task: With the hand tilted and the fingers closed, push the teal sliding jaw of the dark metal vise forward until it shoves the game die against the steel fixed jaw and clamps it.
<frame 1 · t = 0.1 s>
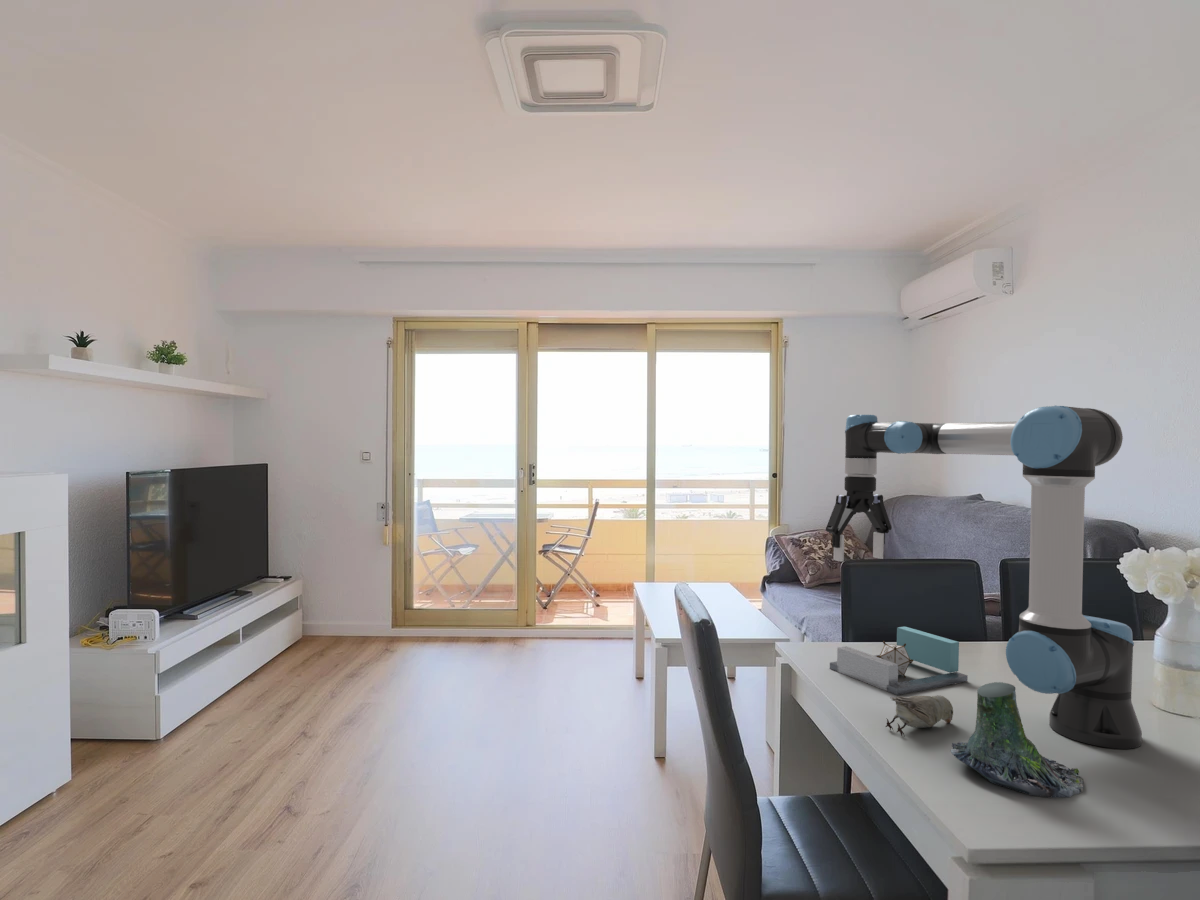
hand: (858, 559, 179), 28 cm above the table, tool pointing down, fingers open, 13 cm apart
vise base: (894, 675, 175), on the table
sliding jaw: (926, 648, 180), point 5 cm above the table, slide at 0.0 cm
decorative bird: (921, 730, 142), on the table
tree stump: (1016, 775, 122), on the table
game die: (894, 676, 175), resting on vise base
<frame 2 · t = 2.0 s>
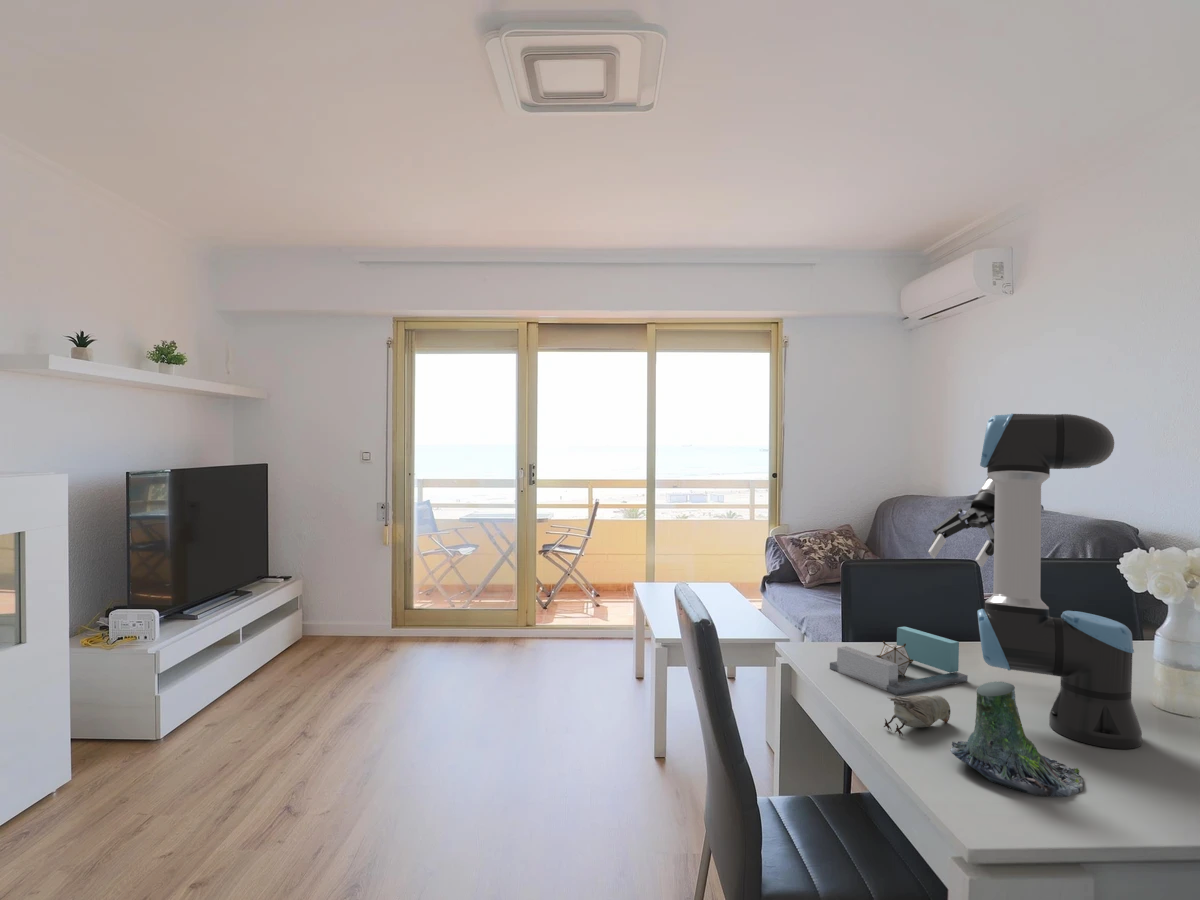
hand: (954, 559, 185), 28 cm above the table, tool tilted 45°, fingers open, 13 cm apart
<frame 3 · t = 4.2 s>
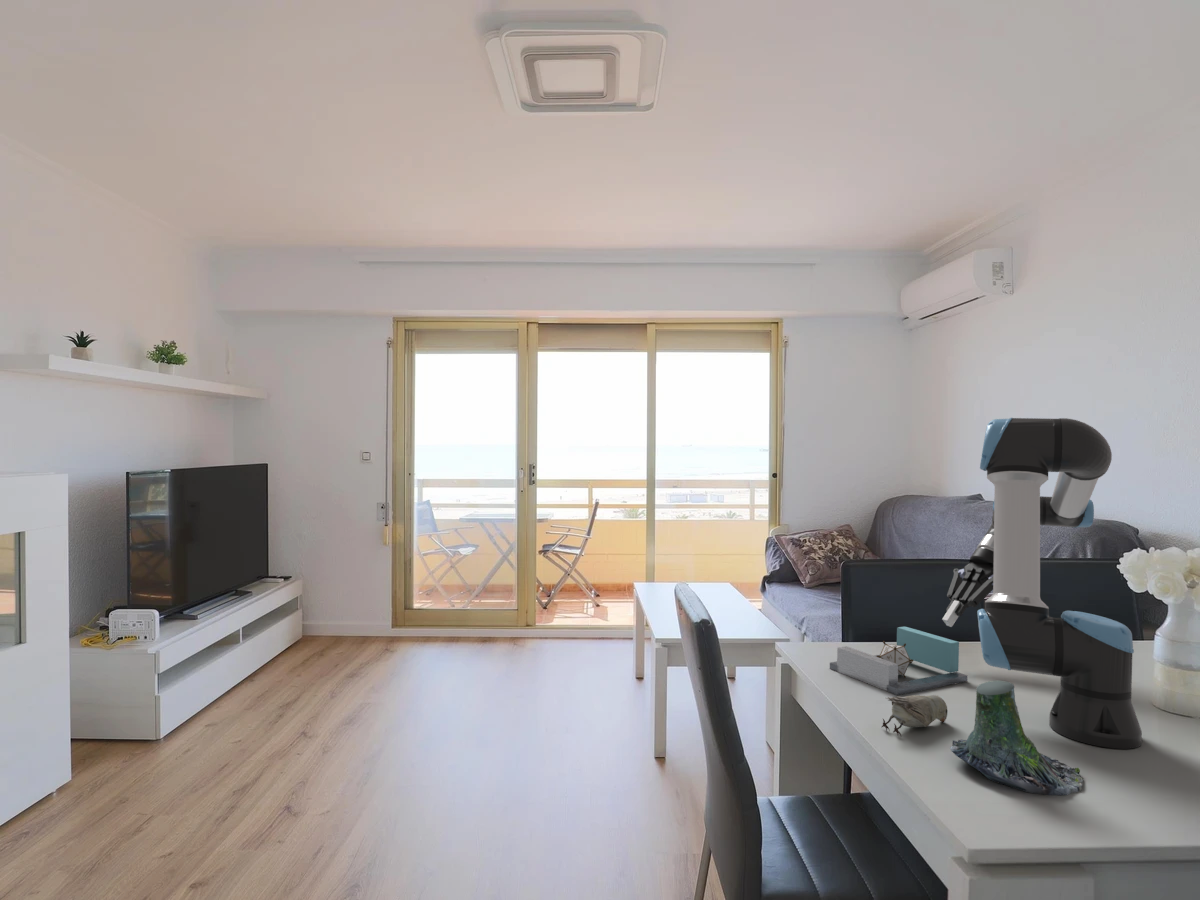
hand: (947, 623, 185), 11 cm above the table, tool tilted 45°, fingers closed
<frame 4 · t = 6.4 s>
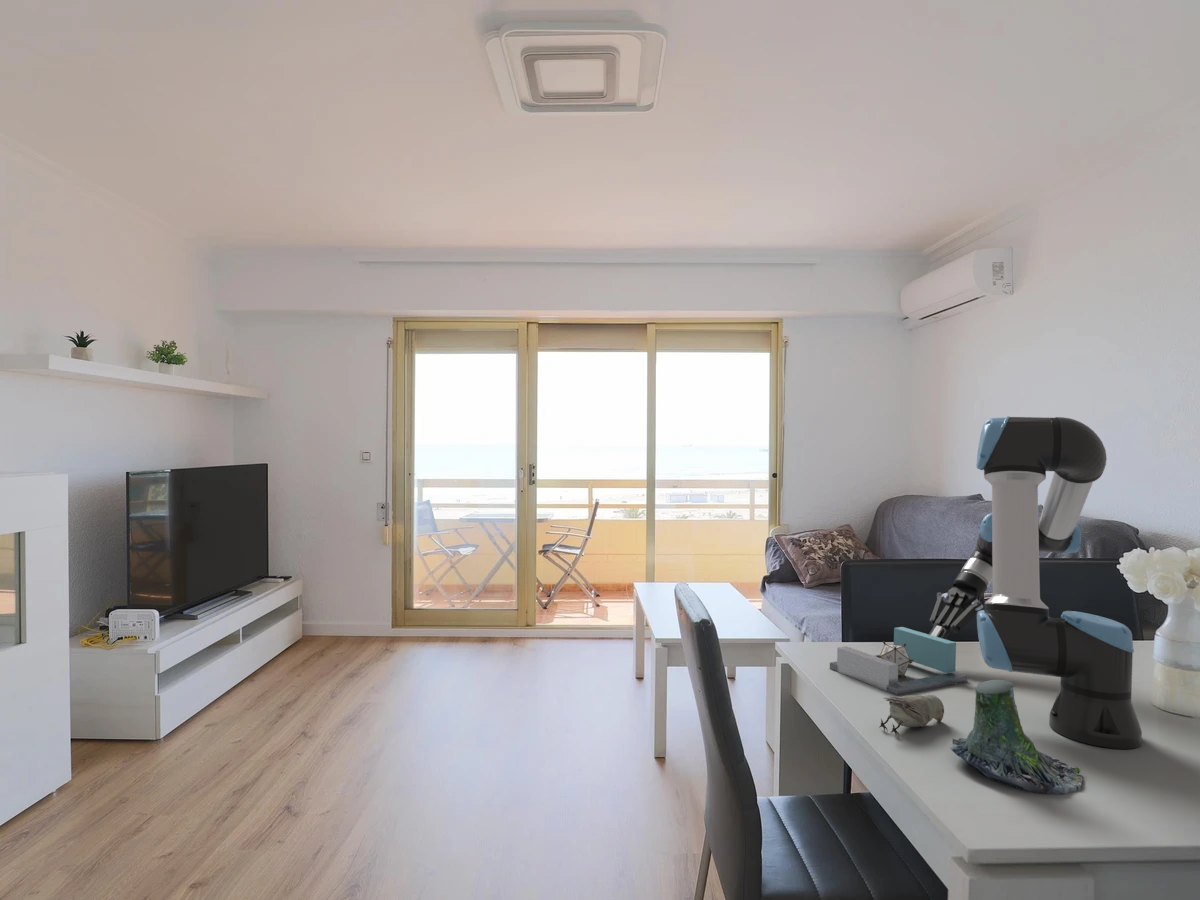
hand: (929, 648, 181), 5 cm above the table, tool tilted 45°, fingers closed
sliding jaw: (923, 649, 180), point 5 cm above the table, slide at 1.1 cm, touching gripper
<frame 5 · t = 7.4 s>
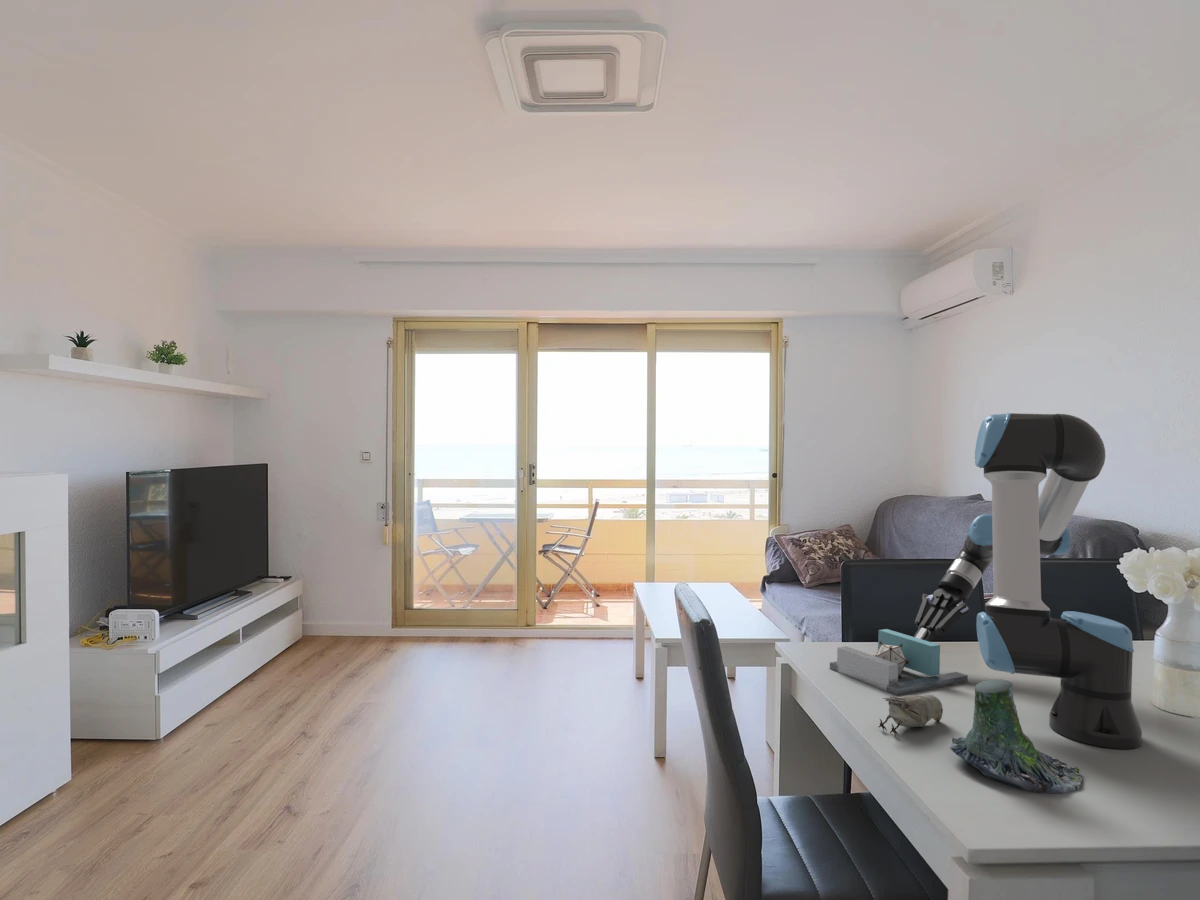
hand: (913, 651, 179), 5 cm above the table, tool tilted 45°, fingers closed
sliding jaw: (907, 651, 177), point 5 cm above the table, slide at 6.8 cm, touching gripper
game die: (890, 676, 175), resting on vise base
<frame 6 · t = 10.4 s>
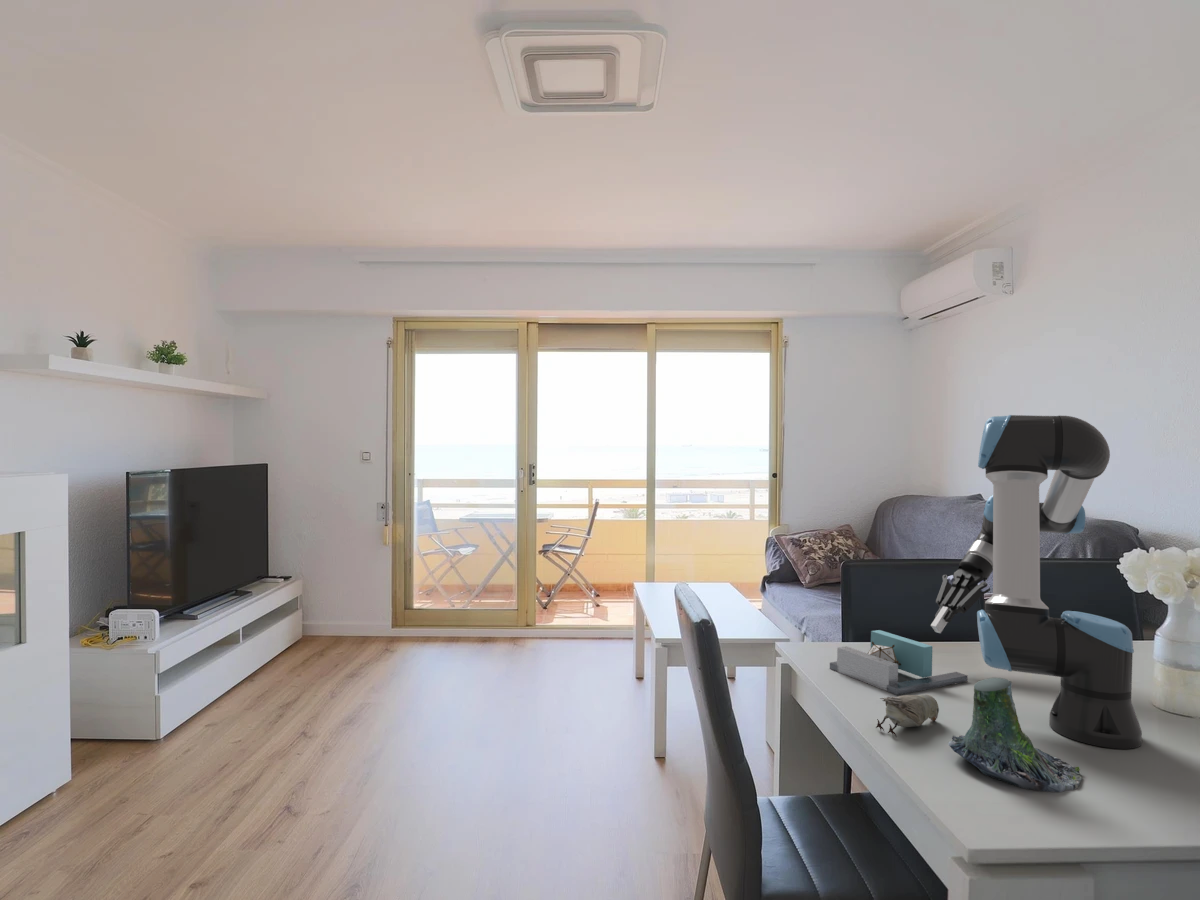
hand: (935, 629, 182), 10 cm above the table, tool tilted 45°, fingers closed
sliding jaw: (900, 652, 176), point 5 cm above the table, slide at 9.5 cm, touching game die
game die: (881, 677, 174), resting on vise base, touching sliding jaw
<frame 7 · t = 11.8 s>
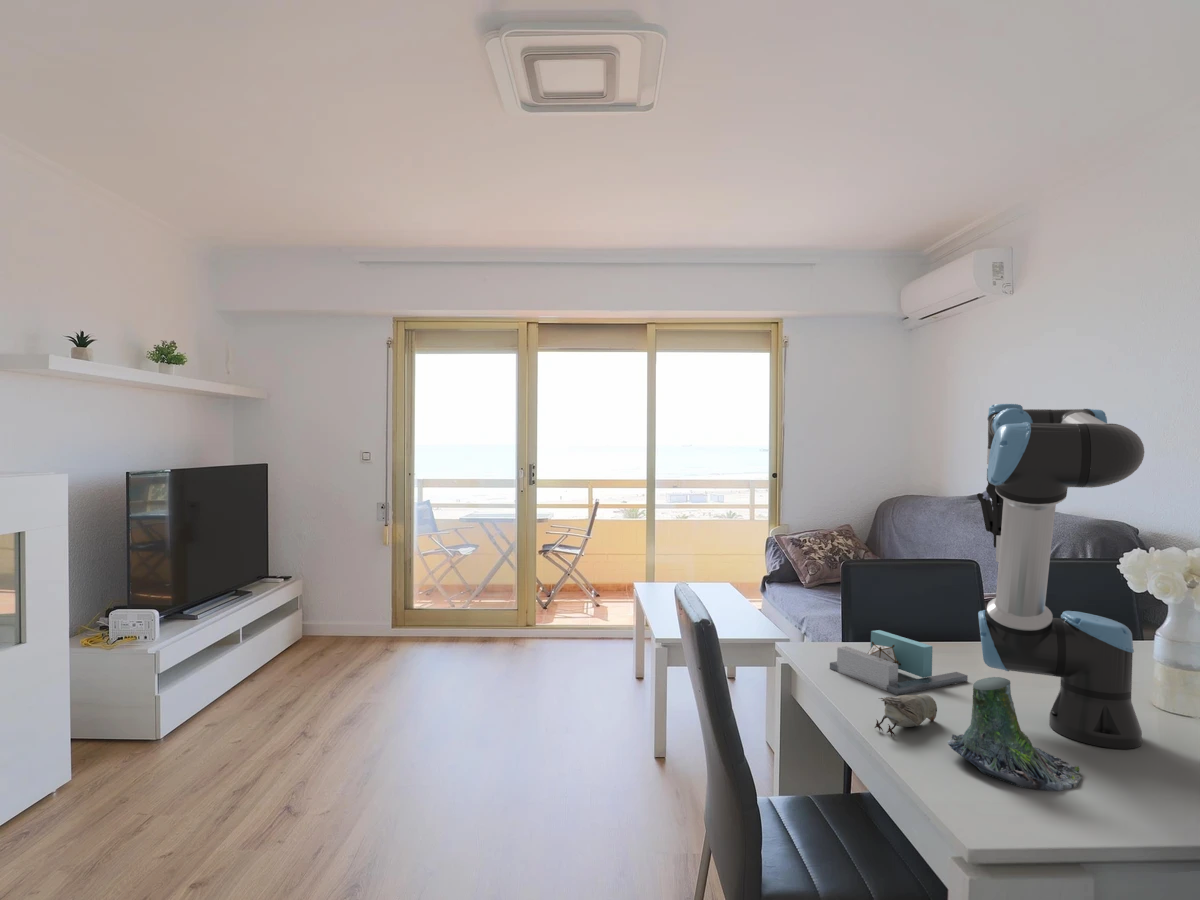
hand: (1002, 561, 175), 29 cm above the table, tool pointing down, fingers closed
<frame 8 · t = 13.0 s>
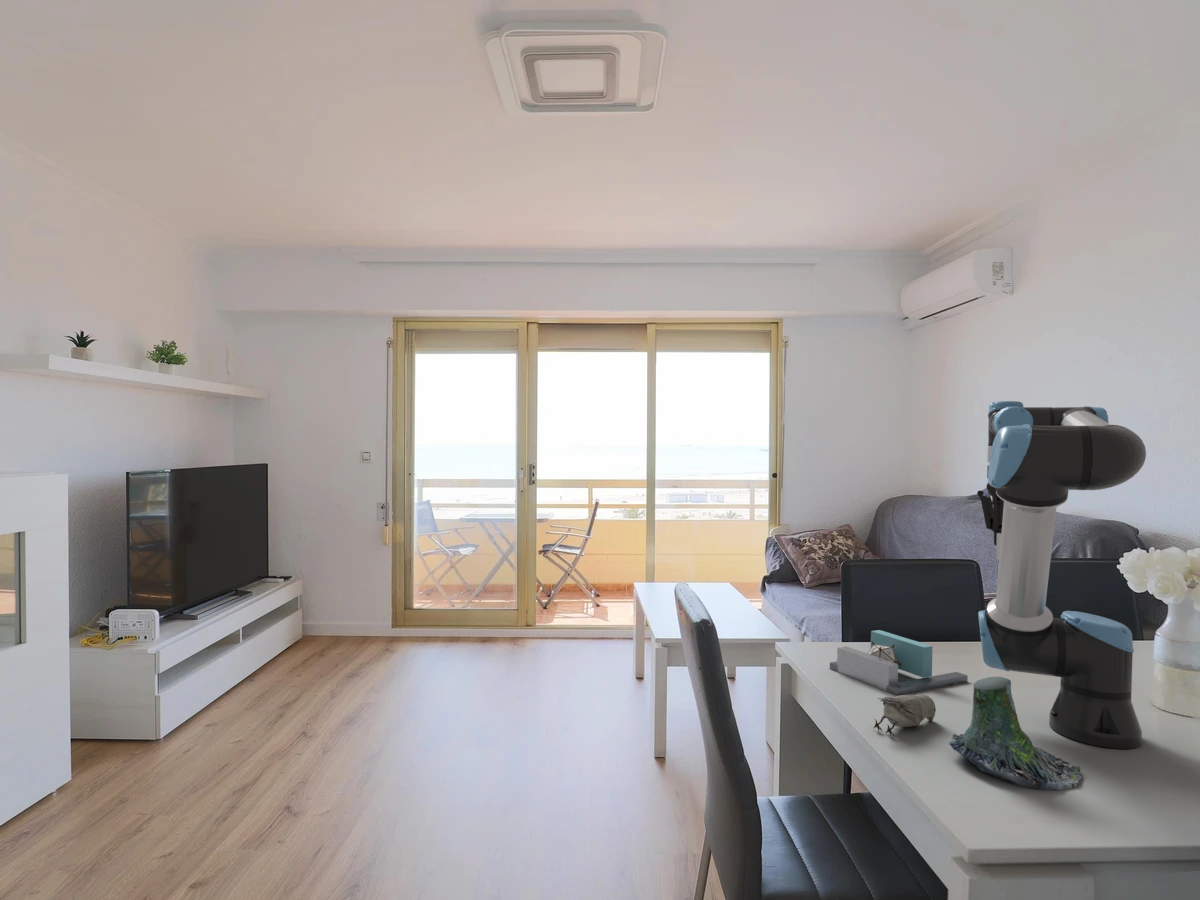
hand: (1002, 559, 174), 29 cm above the table, tool pointing down, fingers closed
at the end: sliding jaw slide at 9.5 cm; game die 0.7 cm from the target spot on the vise base, point 0.0 cm above the vise base's base; game die tilted 0° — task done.
